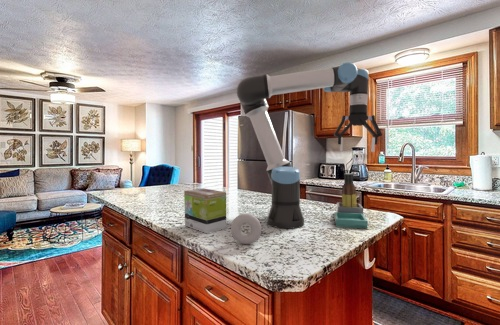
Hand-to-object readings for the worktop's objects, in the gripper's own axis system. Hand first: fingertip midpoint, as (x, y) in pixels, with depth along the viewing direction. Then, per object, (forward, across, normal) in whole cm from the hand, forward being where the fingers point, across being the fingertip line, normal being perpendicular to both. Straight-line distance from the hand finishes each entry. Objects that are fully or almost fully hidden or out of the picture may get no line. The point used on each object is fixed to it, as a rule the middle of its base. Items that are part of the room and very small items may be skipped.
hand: (356, 151), depth 120 cm
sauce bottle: (+30, -2, +2) cm, 30 cm away
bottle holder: (+30, -2, +2) cm, 30 cm away
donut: (+31, -42, -44) cm, 69 cm away
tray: (+30, -4, -12) cm, 33 cm away
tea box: (+31, -62, -29) cm, 75 cm away
